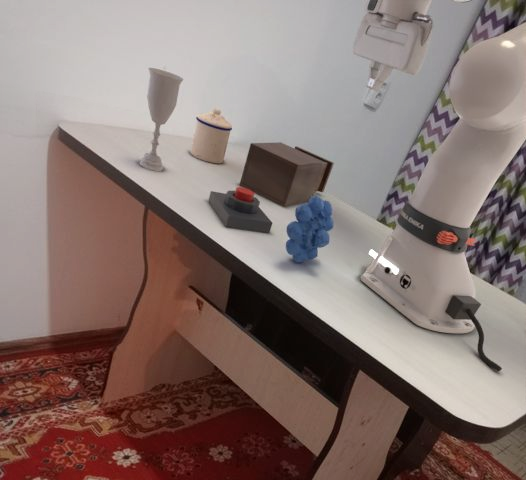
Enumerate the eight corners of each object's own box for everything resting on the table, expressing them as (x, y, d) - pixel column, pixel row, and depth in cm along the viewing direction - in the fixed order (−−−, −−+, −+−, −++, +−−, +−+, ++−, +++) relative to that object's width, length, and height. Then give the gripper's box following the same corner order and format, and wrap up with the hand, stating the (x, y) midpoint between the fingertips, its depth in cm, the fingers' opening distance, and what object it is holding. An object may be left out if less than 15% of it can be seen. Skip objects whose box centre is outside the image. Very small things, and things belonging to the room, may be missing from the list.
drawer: (294, 174, 129) (303, 146, 125) (329, 190, 126) (340, 162, 122) (263, 179, 115) (272, 147, 111) (301, 197, 112) (313, 165, 108)
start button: (254, 204, 88) (257, 195, 87) (237, 201, 86) (239, 192, 85) (248, 197, 90) (250, 188, 89) (231, 194, 89) (233, 185, 88)
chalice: (163, 175, 97) (180, 81, 87) (131, 165, 96) (144, 68, 86) (170, 167, 103) (186, 78, 93) (139, 157, 102) (152, 66, 92)
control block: (269, 233, 88) (275, 213, 86) (225, 227, 84) (231, 206, 82) (248, 208, 96) (254, 189, 94) (208, 201, 92) (212, 181, 90)
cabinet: (269, 180, 119) (280, 142, 114) (310, 200, 116) (324, 161, 111) (239, 185, 108) (250, 143, 103) (284, 207, 104) (298, 164, 99)
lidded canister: (230, 166, 119) (242, 118, 113) (199, 162, 114) (210, 111, 107) (207, 149, 126) (217, 104, 120) (178, 145, 121) (187, 96, 114)
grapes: (295, 279, 75) (321, 208, 68) (266, 259, 78) (289, 189, 71) (335, 270, 83) (362, 206, 76) (307, 252, 86) (331, 190, 79)
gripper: (449, 22, 82) (412, 105, 90) (386, 10, 96) (359, 82, 104) (423, 10, 79) (388, 97, 87) (363, -1, 93) (337, 74, 101)
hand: (372, 89), depth 95 cm, fingers closed
